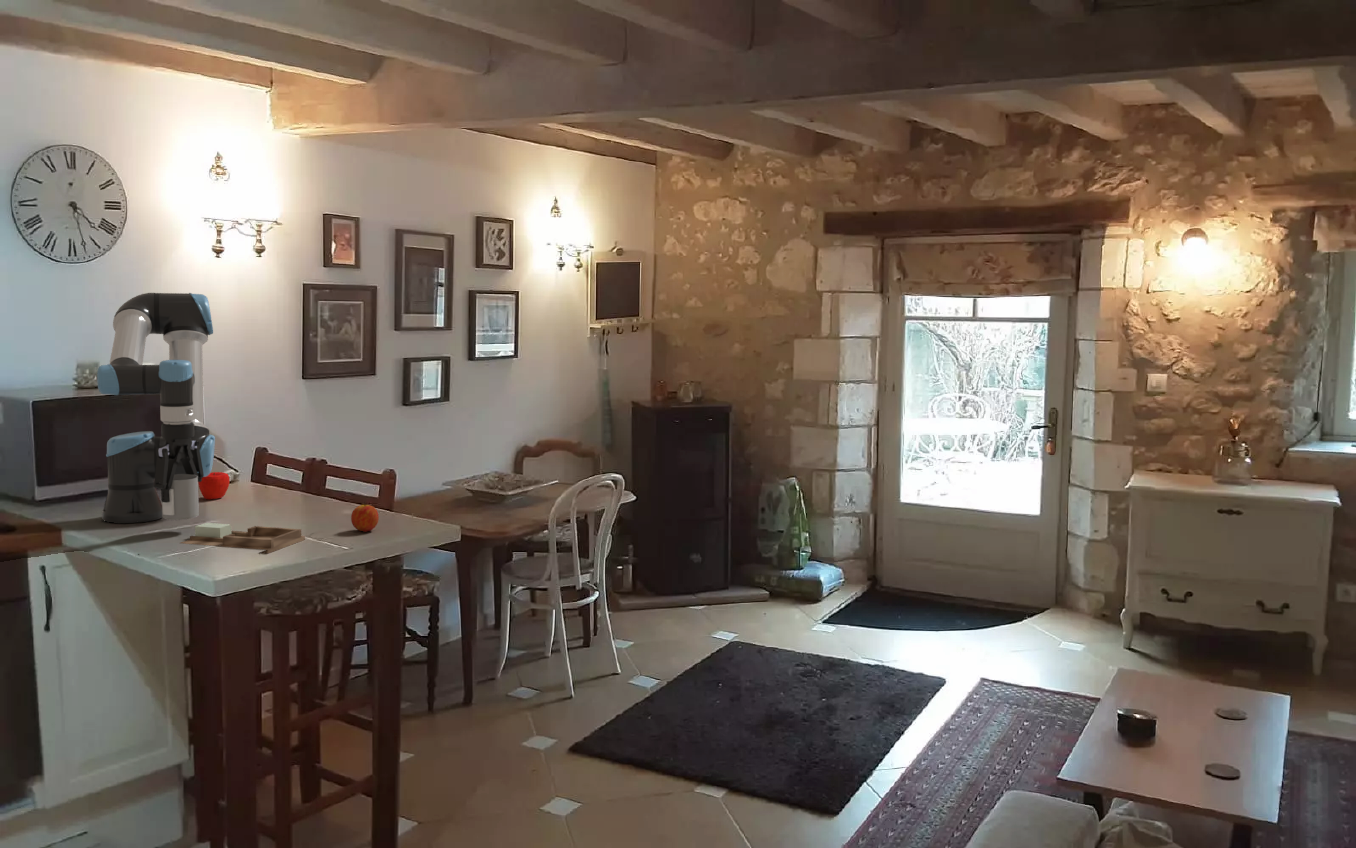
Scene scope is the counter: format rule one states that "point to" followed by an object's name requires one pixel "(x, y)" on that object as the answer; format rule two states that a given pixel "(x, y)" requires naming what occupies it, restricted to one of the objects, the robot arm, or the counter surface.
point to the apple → (214, 485)
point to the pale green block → (213, 530)
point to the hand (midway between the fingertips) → (180, 510)
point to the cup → (184, 497)
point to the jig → (253, 539)
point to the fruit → (364, 517)
